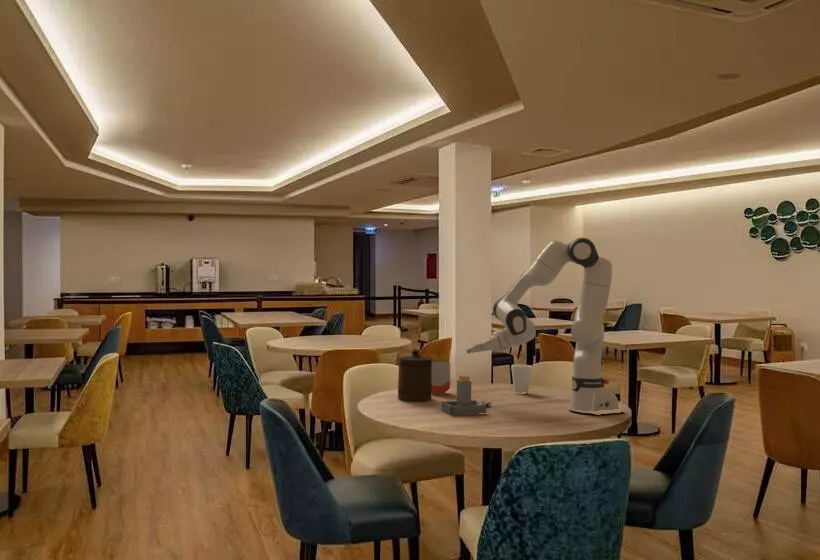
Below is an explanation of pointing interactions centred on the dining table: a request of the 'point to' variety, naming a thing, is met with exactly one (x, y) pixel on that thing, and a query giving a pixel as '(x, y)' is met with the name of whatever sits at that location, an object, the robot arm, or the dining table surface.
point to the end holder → (462, 408)
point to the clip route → (486, 403)
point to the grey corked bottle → (463, 391)
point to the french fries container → (440, 374)
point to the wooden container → (414, 378)
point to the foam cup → (521, 377)
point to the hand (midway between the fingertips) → (469, 351)
